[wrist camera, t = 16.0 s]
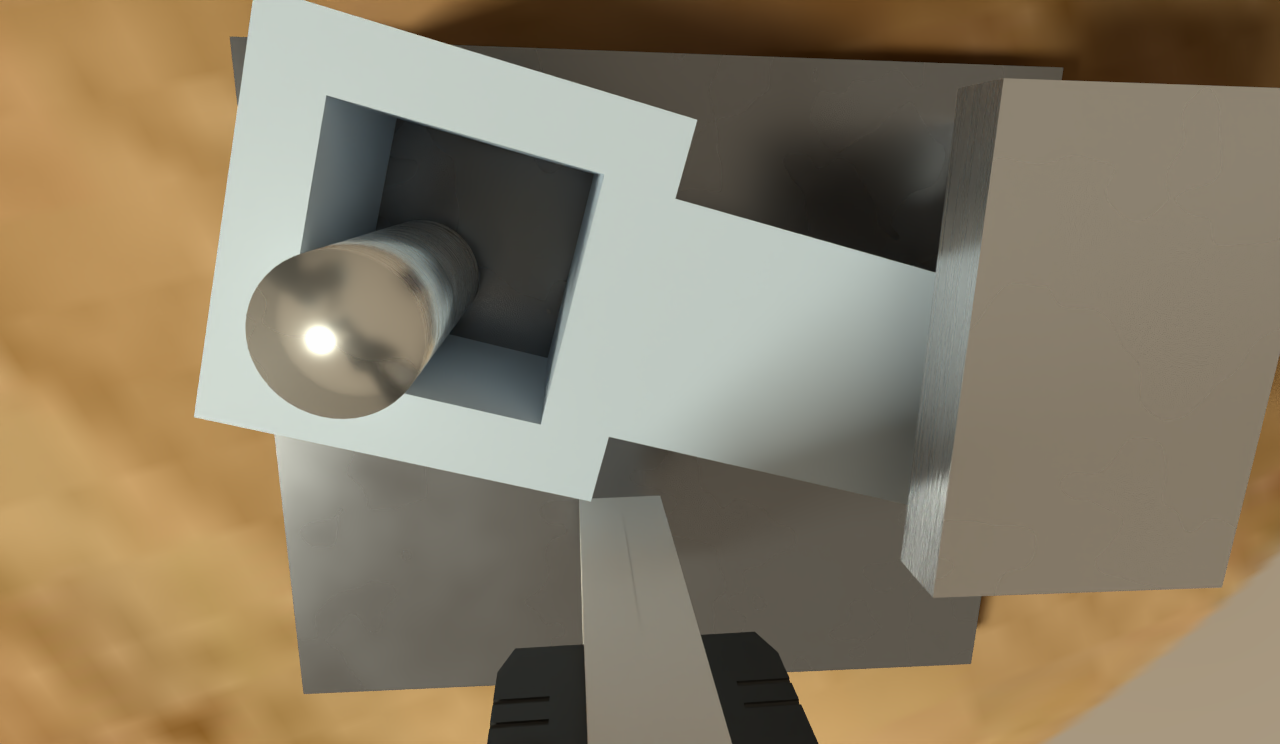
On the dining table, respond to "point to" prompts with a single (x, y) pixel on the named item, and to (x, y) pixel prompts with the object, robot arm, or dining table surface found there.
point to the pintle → (359, 317)
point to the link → (595, 290)
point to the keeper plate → (726, 521)
